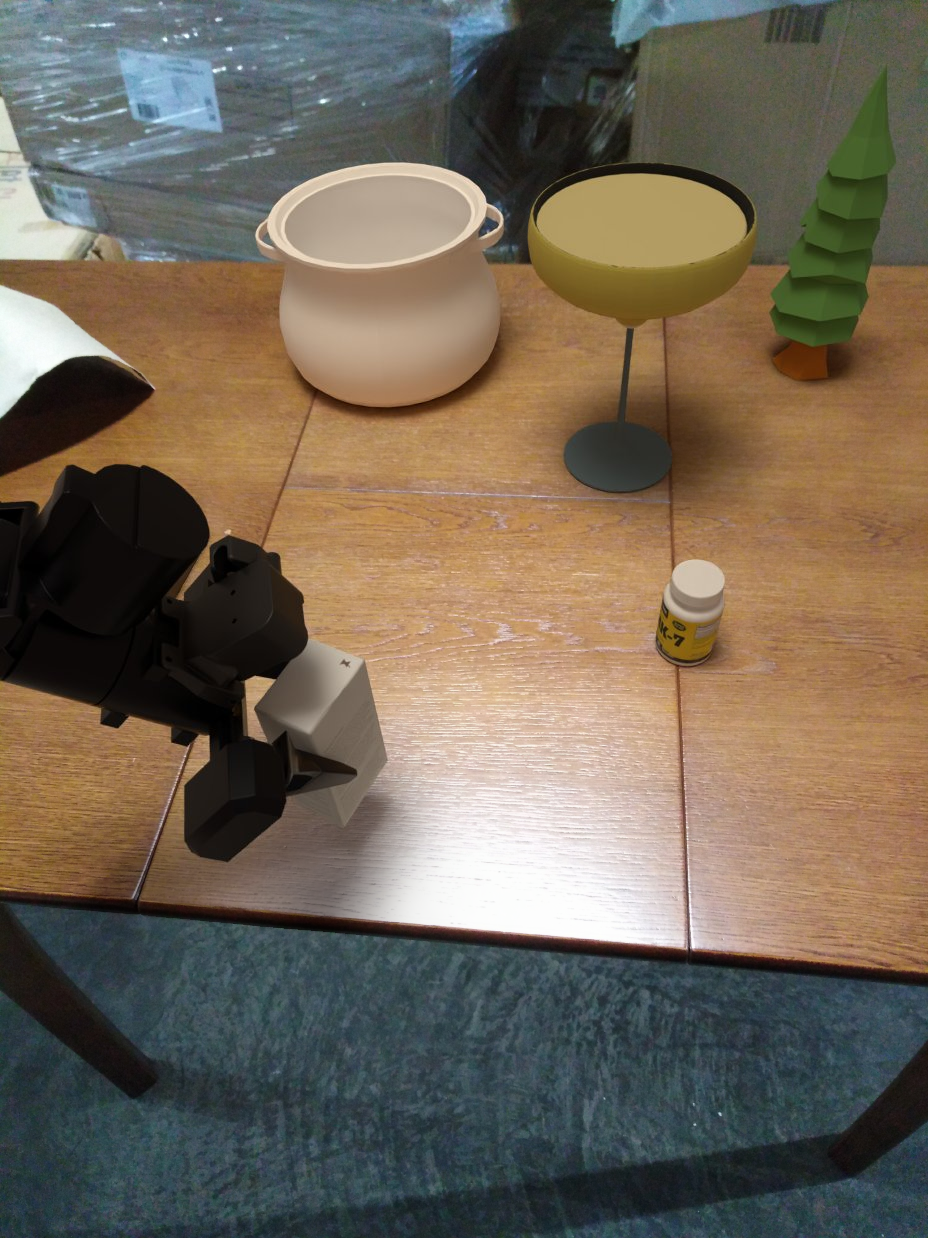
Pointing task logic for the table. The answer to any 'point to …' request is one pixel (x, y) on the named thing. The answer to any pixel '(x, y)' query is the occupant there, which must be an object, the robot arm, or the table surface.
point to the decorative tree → (836, 244)
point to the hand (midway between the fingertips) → (346, 727)
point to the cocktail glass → (637, 278)
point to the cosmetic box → (327, 723)
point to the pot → (385, 281)
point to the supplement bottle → (690, 613)
